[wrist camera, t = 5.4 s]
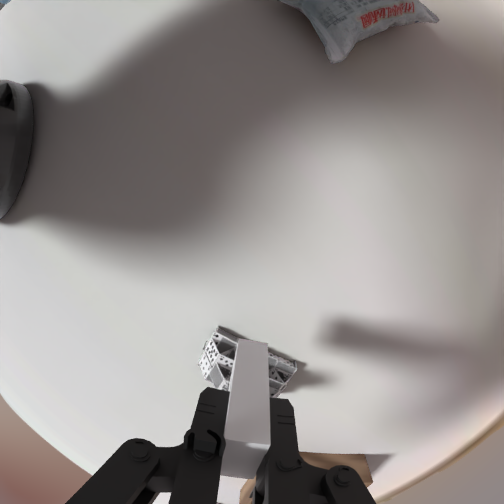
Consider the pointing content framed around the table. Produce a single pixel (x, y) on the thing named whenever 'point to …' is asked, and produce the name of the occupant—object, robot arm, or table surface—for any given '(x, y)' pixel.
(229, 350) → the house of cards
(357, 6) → the packaged food
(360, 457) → the brown boxy piece
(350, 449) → the table surface
